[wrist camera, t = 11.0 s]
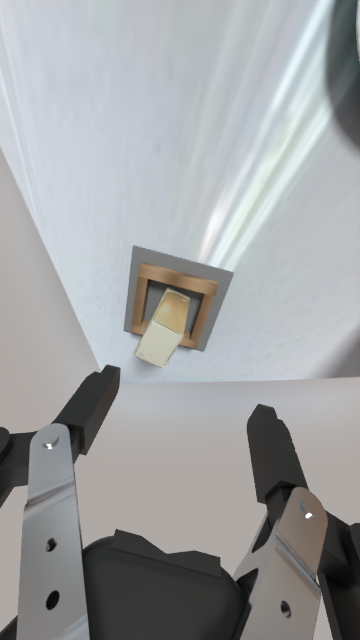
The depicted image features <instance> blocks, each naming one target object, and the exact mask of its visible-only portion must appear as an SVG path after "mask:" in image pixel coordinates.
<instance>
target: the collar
mask: <svg viewBox="0 0 360 640" xmlns="http://www.w3.org/2000/svg"><path fill="white" fill-rule="evenodd" d="M150 280H155V281H159V282H162V283H166V284H170V285H174V286H177V287H181V288H185V289H189V290H192V291H196V292H200V293H204V294H203V297H202V300H201V303H200V306H199V309H198V312H197V315H196V319H195V322H194V325H193V328H192V331H191V332H188V331H184V336H183V338H182V340H181V342H180V343H179V345H183V346H187V347H191V348H195V349H196V348H197V345H198V342H199V339H200V336H201V334H202V331H203V328H204V325H205V322H206V319H207V317H208V314H209V311H210V308H211V305H212V302H213V300H214V297H215V294H216V291H217V288H218V285H217V282H216V281H212V280H208V279H205V278H201V277H197V276H193V275H190V274H186V273H182V272H179V271H175V270H171V269H167V268H164V267H160V266H156V265H152V264H149V263H145V262H144V263H142V264H141V265H140V266H139V272H138V280H137V288H136V295H135V303H134V311H133V318H132V326H131V332H134V333H137V334H141V335H143V334H144V332H145V330H146V328H147V326H148V324H149V322H150V321H146V320H144V316H145V310H146V304H147V298H148V292H149V286H150Z"/></svg>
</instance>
